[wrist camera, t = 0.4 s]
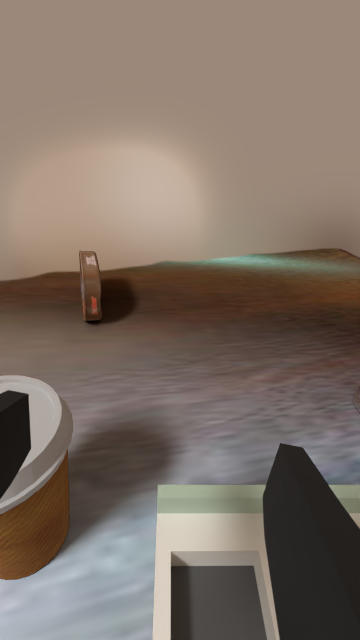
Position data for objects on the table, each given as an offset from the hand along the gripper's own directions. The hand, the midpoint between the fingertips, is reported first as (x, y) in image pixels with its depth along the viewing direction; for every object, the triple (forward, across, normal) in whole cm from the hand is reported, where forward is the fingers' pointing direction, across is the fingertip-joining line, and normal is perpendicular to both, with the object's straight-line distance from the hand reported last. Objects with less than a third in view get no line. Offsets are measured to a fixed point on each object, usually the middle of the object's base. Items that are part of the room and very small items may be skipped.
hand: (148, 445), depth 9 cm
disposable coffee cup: (+9, +9, +20) cm, 23 cm away
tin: (+43, +17, +15) cm, 48 cm away
